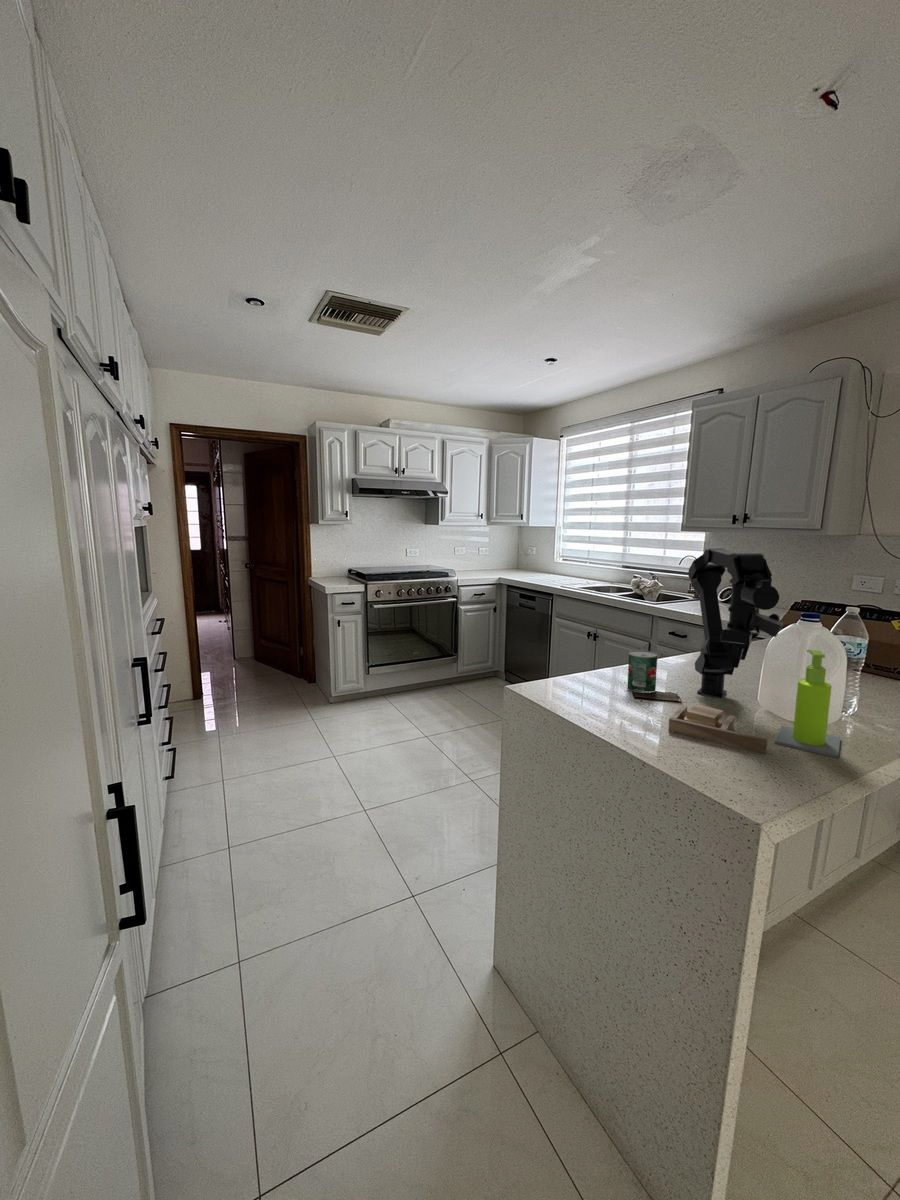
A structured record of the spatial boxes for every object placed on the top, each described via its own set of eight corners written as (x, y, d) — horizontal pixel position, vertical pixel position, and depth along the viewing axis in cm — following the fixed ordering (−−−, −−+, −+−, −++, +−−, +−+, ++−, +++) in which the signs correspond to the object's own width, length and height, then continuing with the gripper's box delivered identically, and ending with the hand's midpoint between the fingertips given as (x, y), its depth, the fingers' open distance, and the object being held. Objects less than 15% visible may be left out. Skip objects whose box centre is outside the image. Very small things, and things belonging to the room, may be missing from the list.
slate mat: (781, 727, 117) (781, 725, 117) (840, 740, 110) (840, 737, 110) (775, 743, 108) (775, 741, 108) (838, 758, 101) (838, 755, 101)
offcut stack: (689, 720, 122) (691, 702, 121) (722, 727, 117) (723, 709, 117) (680, 730, 116) (681, 712, 115) (714, 738, 111) (716, 720, 110)
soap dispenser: (818, 734, 111) (827, 649, 108) (829, 747, 105) (839, 656, 102) (788, 730, 113) (796, 647, 110) (796, 743, 107) (805, 654, 104)
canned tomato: (624, 684, 149) (626, 649, 148) (651, 685, 148) (653, 650, 147) (630, 693, 142) (632, 656, 140) (659, 694, 141) (660, 657, 139)
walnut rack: (681, 716, 124) (682, 705, 124) (772, 737, 112) (773, 724, 111) (668, 730, 116) (669, 718, 115) (765, 754, 103) (766, 741, 103)
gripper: (777, 611, 110) (771, 678, 113) (786, 601, 125) (781, 660, 127) (721, 606, 117) (717, 669, 120) (737, 597, 132) (732, 654, 134)
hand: (738, 663), depth 125 cm, fingers open, 9 cm apart
